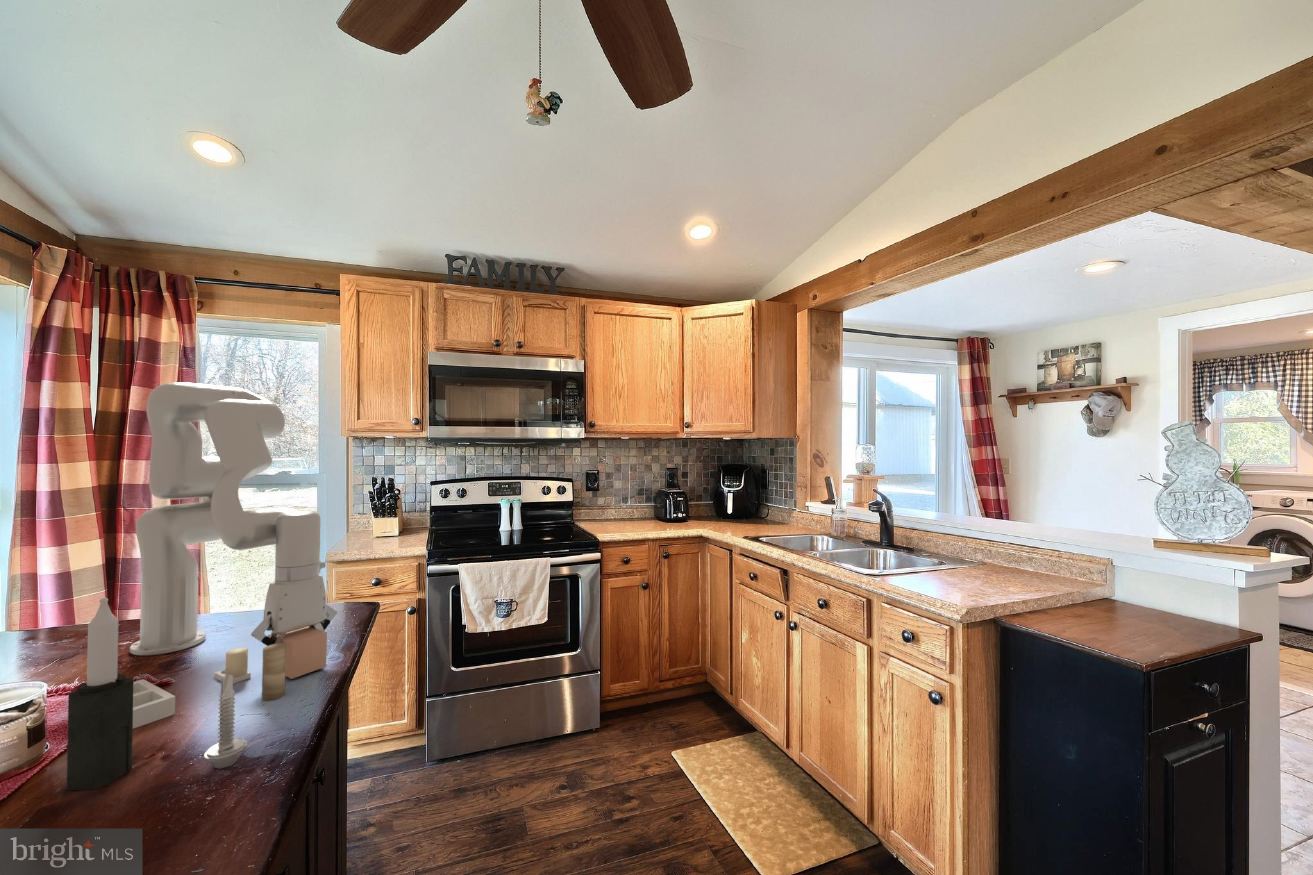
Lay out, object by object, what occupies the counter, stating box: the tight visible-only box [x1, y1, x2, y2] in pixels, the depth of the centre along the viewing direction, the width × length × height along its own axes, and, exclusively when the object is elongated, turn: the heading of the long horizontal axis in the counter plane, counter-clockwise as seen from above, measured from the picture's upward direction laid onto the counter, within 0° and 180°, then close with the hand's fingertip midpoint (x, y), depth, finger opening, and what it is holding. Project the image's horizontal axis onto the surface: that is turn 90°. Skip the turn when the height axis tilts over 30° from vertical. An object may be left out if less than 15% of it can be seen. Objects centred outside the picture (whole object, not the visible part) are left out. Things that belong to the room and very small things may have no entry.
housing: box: [267, 626, 328, 680], centre depth 107 cm, size 9×6×7 cm
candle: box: [66, 597, 135, 791], centre depth 73 cm, size 5×5×25 cm
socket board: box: [133, 678, 176, 730], centre depth 90 cm, size 13×7×3 cm, turn 62°
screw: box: [203, 674, 248, 770], centre depth 77 cm, size 13×5×5 cm
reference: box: [213, 647, 252, 685], centre depth 103 cm, size 6×4×6 cm, turn 62°
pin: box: [261, 644, 286, 702], centre depth 96 cm, size 3×3×9 cm
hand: (295, 659), depth 107 cm, fingers closed on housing, 6 cm apart
